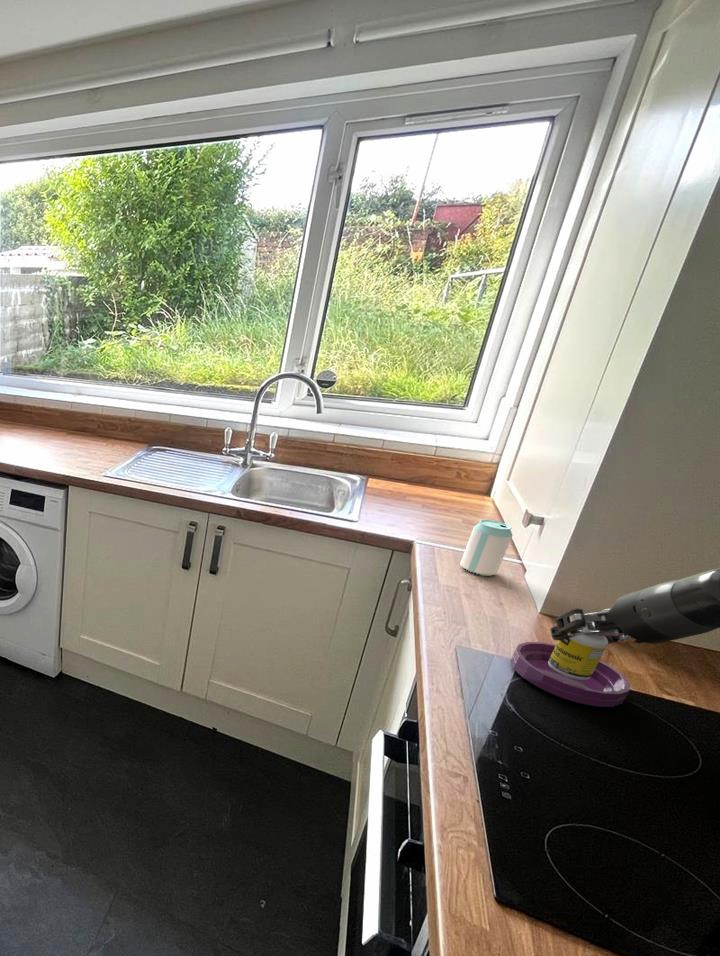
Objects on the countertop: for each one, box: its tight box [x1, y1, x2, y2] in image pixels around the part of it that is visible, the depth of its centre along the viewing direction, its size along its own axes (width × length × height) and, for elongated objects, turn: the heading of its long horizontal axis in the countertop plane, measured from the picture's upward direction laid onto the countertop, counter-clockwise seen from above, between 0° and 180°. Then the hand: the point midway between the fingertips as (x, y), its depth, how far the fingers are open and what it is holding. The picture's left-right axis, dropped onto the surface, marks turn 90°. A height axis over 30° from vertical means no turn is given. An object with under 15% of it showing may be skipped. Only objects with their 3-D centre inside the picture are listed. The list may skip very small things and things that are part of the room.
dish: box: [509, 641, 631, 708], centre depth 98 cm, size 14×14×3 cm
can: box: [459, 519, 513, 577], centre depth 136 cm, size 7×7×12 cm
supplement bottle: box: [548, 622, 609, 680], centre depth 96 cm, size 5×5×10 cm
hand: (574, 636), depth 97 cm, fingers closed on supplement bottle, 5 cm apart
